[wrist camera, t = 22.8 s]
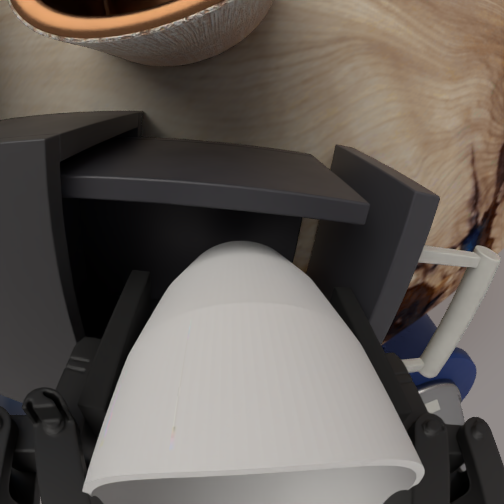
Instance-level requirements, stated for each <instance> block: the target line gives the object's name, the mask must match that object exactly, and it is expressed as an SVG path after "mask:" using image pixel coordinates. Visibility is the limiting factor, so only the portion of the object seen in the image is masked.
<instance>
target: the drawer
mask: <svg viewBox="0 0 504 504" xmlns="http://www.w3.org/2000/svg"><path fill="white" fill-rule="evenodd" d="M60 178H61V194H62V206H63V216H64V225H65V233H66V241H67V248H68V255H69V261H70V267H71V273H72V278H73V283H74V289H75V293H76V298H77V303H78V307H79V312H80V316H81V320H82V324H83V328H84V332H85V336H87V337H93V338H99V339H102V337H103V335H104V332H105V330H106V328H107V325H108V323H109V320H110V318H111V316H112V313H113V311H114V309H115V307H116V304H117V302H118V300H119V298H120V295H121V293H122V291H123V289H124V287H125V285H126V282H127V280H128V278H129V276H130V274H131V272H132V270H139V271H149V272H150V278H151V299H152V313H153V311H154V310H155V308H156V306H157V305H158V303H159V301H160V300H161V298H162V296H163V295H164V293H165V292H166V290H167V288H168V287H169V286H170V284H171V283H172V282H173V281H174V280H175V279H176V278H177V277H178V276H179V275H180V274H181V273H182V272H183V271H184V270H185V269H186V268H187V267H188V266H189V265H190V264H191V263H192V262H193V261H195V260H196V259H197V258H198V257H199V256H200V255H201V254H202V253H204V252H205V251H207V250H208V249H210V248H212V247H214V246H216V245H219V244H222V243H226V242H231V241H251V242H256V243H260V244H263V245H266V246H268V247H270V248H272V249H274V250H275V251H277V252H278V253H279V254H281V255H282V256H283V257H285V258H286V259H287V260H289V261H290V262H291V263H293V258H294V254H295V249H296V245H297V240H298V236H299V231H300V226H301V222H302V217H303V218H311V219H320V220H319V224H318V229H317V233H316V237H315V241H314V245H313V249H312V253H311V257H310V261H309V265H308V269H307V273H306V275H307V276H309V277H310V278H311V280H312V281H313V282H314V283H315V284H316V286H317V287H318V288H319V290H320V291H321V292H322V293H323V295H324V296H325V297H326V299H327V300H328V301H329V302H330V299H331V296H332V293H333V290H334V287H351V289H352V291H353V293H354V295H355V297H356V298H357V300H358V302H359V304H360V306H361V308H362V310H363V312H364V313H365V315H366V317H367V319H368V321H369V323H370V325H371V327H372V329H373V331H374V333H375V335H376V337H377V339H378V340H379V342H380V344H382V342H383V340H384V338H385V336H386V334H387V332H388V330H389V328H390V326H391V323H392V321H393V319H394V317H395V315H396V313H397V311H398V308H399V306H400V304H401V302H402V300H403V297H404V295H405V293H406V290H407V288H408V286H409V283H410V281H411V279H412V276H413V274H414V271H415V269H416V266H417V264H418V262H420V263H430V264H440V265H450V266H460V267H467V269H466V271H465V273H464V275H463V278H462V280H461V282H460V284H459V286H458V288H457V291H456V293H455V295H454V297H453V299H452V301H451V303H450V305H449V307H448V309H447V311H446V313H445V315H444V316H443V318H442V320H441V322H440V324H439V326H438V328H437V329H436V331H435V333H434V335H433V336H432V338H431V340H430V342H429V343H428V345H427V347H426V348H425V350H424V352H423V353H422V355H421V357H420V358H415V359H404V360H402V361H403V363H404V365H405V366H406V368H407V370H408V372H417V371H419V372H420V373H421V374H422V375H423V376H425V377H428V378H433V377H435V376H437V374H438V373H439V371H440V370H441V369H442V367H443V366H444V364H445V363H446V361H447V360H448V358H449V357H450V355H451V353H452V352H453V350H454V349H455V347H456V346H457V344H458V342H459V340H460V339H461V337H462V336H463V334H464V332H465V331H466V328H467V327H468V325H469V324H470V322H471V320H472V318H473V316H474V315H475V313H476V311H477V309H478V307H479V305H480V303H481V302H482V300H483V298H484V296H485V294H486V292H487V290H488V288H489V286H490V284H491V282H492V279H493V277H494V275H495V273H496V271H497V268H498V266H499V264H500V261H501V258H500V257H499V256H498V255H497V254H496V253H495V252H493V251H492V250H490V249H488V248H486V247H483V246H476V247H475V249H474V252H468V251H461V250H455V249H448V248H440V247H433V246H426V245H425V242H426V240H427V237H428V234H429V231H430V228H431V225H432V222H433V219H434V216H435V213H436V210H437V207H438V204H439V200H440V197H439V196H438V195H436V194H435V193H433V192H431V191H430V190H428V189H427V188H425V187H423V186H422V185H420V184H418V183H417V182H415V181H413V180H412V179H410V178H408V177H406V176H405V175H403V174H401V173H399V172H398V171H396V170H394V169H392V168H390V167H389V166H387V165H385V164H383V163H381V162H379V161H378V160H376V159H374V158H372V157H370V156H368V155H366V154H364V153H362V152H360V151H358V150H356V149H354V148H352V147H347V146H342V145H336V146H335V151H334V156H333V161H332V166H331V170H330V169H328V168H327V167H326V166H325V165H323V164H322V163H321V162H320V161H318V160H317V159H316V158H315V157H314V156H312V155H311V154H306V153H300V152H294V151H287V150H280V149H273V148H266V147H258V146H250V145H241V144H232V143H222V142H212V141H200V140H186V139H170V138H149V137H112V138H110V139H108V140H105V141H103V142H101V143H99V144H96V145H94V146H92V147H90V148H88V149H86V150H83V151H81V152H79V153H77V154H75V155H73V156H71V157H69V158H67V159H65V160H63V161H61V162H60Z"/></svg>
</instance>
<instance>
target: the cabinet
mask: <svg viewBox="0 0 504 504" xmlns="http://www.w3.org/2000/svg"><path fill="white" fill-rule="evenodd" d="M142 119H143V111H94V112H73V113H58V114H46V115H36V116H27V117H19V118H11V119H4V120H0V395H3V396H6V397H8V398H11V399H14V400H16V401H19V402H22V403H23V400H24V399H25V397H26V396H27V394H28V393H30V392H31V391H33V390H34V389H37V388H41V387H48V388H52V389H54V390H56V387H57V385H58V382H59V380H60V378H61V375H62V373H63V371H64V368H66V364H67V362H68V359H70V355H71V353H72V351H73V348H74V346H75V345H76V344H77V343H78V342H79V341H80V340H81V339H82V338H83V337H84V336H85V332H84V328H83V324H82V320H81V316H80V312H79V307H78V303H77V298H76V293H75V289H74V283H73V278H72V273H71V267H70V261H69V255H68V248H67V241H66V233H65V225H64V216H63V206H62V194H61V178H60V162H61V161H63V160H65V159H67V158H69V157H71V156H73V155H75V154H77V153H79V152H81V151H83V150H86V149H88V148H90V147H92V146H94V145H96V144H99V143H101V142H103V141H105V140H108V139H110V138H112V137H141V134H142Z"/></svg>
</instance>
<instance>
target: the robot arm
mask: <svg viewBox="0 0 504 504" xmlns="http://www.w3.org/2000/svg"><path fill="white" fill-rule="evenodd" d="M329 303H330V304H331V305H332V306H333V308H334V309H335V310H336V312H337V313H338V314H339V316H340V317H341V318H342V320H343V321H344V322H345V324H346V325H347V326H348V328H349V329H350V330H351V331H352V333H353V334H354V335H355V337H356V338H357V339H358V341H359V342H360V344H361V345H362V347H363V349H364V351H365V353H366V355H367V356H368V358H369V360H370V362H371V364H372V366H373V368H374V369H375V371H376V373H377V375H378V377H379V379H380V381H381V383H382V384H383V386H384V388H385V390H386V392H387V394H388V396H389V398H390V400H391V402H392V404H393V406H394V408H395V410H396V412H397V414H398V416H399V418H400V420H401V422H402V424H403V426H404V428H405V430H406V432H407V434H408V436H409V438H410V440H411V442H412V444H413V446H414V448H415V450H416V452H417V454H418V456H419V458H420V461H421V463H422V465H423V467H424V470H425V473H424V476H423V478H422V479H421V481H420V482H419V483H418V484H417V485H415V486H413V487H411V488H410V489H409V490H400V491H397V492H395V493H394V494H392V495H391V496H390V497H389V498H388V499H387V500H386V501H385V502H384V503H383V504H504V466H503V463H502V460H501V457H500V454H499V451H498V449H497V445H496V443H495V440H494V437H493V435H492V432H491V429H490V427H489V426H488V424H487V423H486V422H485V421H484V420H483V419H481V418H479V417H472V418H470V419H468V420H467V421H466V422H464V416H463V412H462V408H461V395H460V392H459V389H458V388H457V386H456V384H455V383H454V381H452V380H450V379H436V380H432V381H428V382H425V383H422V384H420V385H417V386H415V384H414V382H412V378H411V376H410V374H408V370H407V368H406V366H405V365H404V363H403V361H402V360H401V359H400V358H399V357H398V356H397V355H396V354H395V353H385V352H384V350H383V348H382V346H381V344H380V342H379V340H378V339H377V337H376V335H375V333H374V331H373V329H372V327H371V325H370V323H369V321H368V319H367V317H366V315H365V313H364V312H363V310H362V308H361V306H360V304H359V302H358V300H357V298H356V297H355V295H354V293H353V291H352V289H351V287H334V290H333V293H332V296H331V299H330V302H329ZM151 315H152V299H151V278H150V272H149V271H139V270H132V272H131V274H130V276H129V278H128V280H127V282H126V285H125V287H124V289H123V291H122V293H121V295H120V298H119V300H118V302H117V304H116V307H115V309H114V311H113V313H112V316H111V318H110V320H109V323H108V325H107V328H106V330H105V332H104V335H103V337H102V339H99V338H93V337H87V336H84V337H83V338H82V339H81V340H80V341H79V342H78V343H77V344H76V345H75V346H74V348H73V351H72V353H71V355H70V359H68V362H67V364H66V368H64V371H63V373H62V375H61V378H60V380H59V382H58V385H57V387H56V390H54V389H52V388H48V387H41V388H37V389H34V390H33V391H31V392H30V393H28V394H27V396H26V397H25V399H24V400H23V405H22V409H23V410H24V412H25V413H26V415H9V413H8V412H7V411H6V410H5V409H4V408H3V407H1V406H0V504H40V496H41V501H42V504H103V502H102V501H101V500H100V499H99V498H98V497H97V496H92V497H91V496H90V495H89V494H88V493H85V492H82V490H83V486H84V482H85V479H86V475H87V472H88V468H89V465H90V462H91V459H92V455H93V452H94V449H95V446H96V443H97V440H98V437H99V434H100V431H101V428H102V425H103V422H104V419H105V416H106V413H107V410H108V407H109V405H110V402H111V399H112V396H113V393H114V391H115V388H116V385H117V383H118V380H119V377H120V375H121V372H122V369H123V367H124V364H125V362H126V359H127V357H128V355H129V353H130V351H131V349H132V348H133V346H134V344H135V342H136V341H137V339H138V337H139V335H140V334H141V332H142V330H143V328H144V327H145V325H146V323H147V322H148V320H149V318H150V317H151Z"/></svg>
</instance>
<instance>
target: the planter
mask: <svg viewBox="0 0 504 504" xmlns="http://www.w3.org/2000/svg"><path fill="white" fill-rule="evenodd" d="M8 3H9V6H10V7H11V9H12V11H13V13H14V14H15V15H16V17H17V18H18V19H19V20H20V21H21V22H22V23H23V24H24V25H25V26H27V27H28V28H30V29H31V30H33V31H34V32H36V33H38V34H41V35H43V36H46V37H48V38H51V39H55V40H59V41H63V42H67V43H71V44H76V45H80V46H84V47H87V48H91V49H95V50H98V51H101V52H105V53H108V54H111V55H114V56H117V57H120V58H123V59H126V60H129V61H132V62H135V63H139V64H144V65H151V66H178V65H185V64H190V63H194V62H198V61H202V60H205V59H208V58H211V57H213V56H215V55H218V54H220V53H222V52H224V51H226V50H228V49H229V48H231V47H233V46H234V45H236V44H237V43H239V42H240V41H241V40H243V39H244V38H245V37H247V36H248V35H249V34H250V33H251V32H252V31H253V30H254V29H255V28H256V27H257V26H258V25H259V24H260V22H261V21H262V20H263V18H264V17H265V15H266V14H267V12H268V11H269V9H270V7H271V5H272V3H273V0H8Z"/></svg>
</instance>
